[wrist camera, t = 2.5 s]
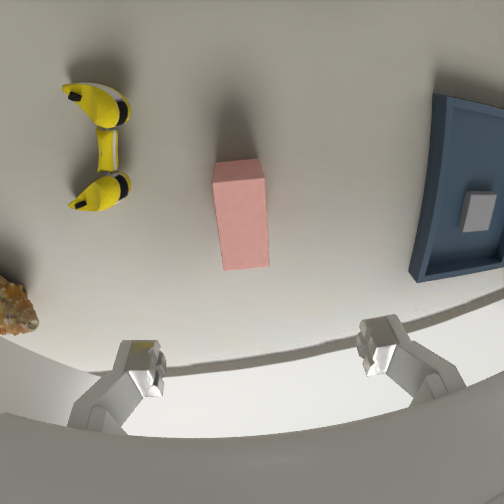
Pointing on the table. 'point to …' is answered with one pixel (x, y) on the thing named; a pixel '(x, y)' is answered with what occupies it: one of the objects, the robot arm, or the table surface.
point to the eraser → (241, 213)
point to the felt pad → (476, 211)
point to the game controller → (102, 143)
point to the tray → (460, 190)
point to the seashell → (15, 310)
